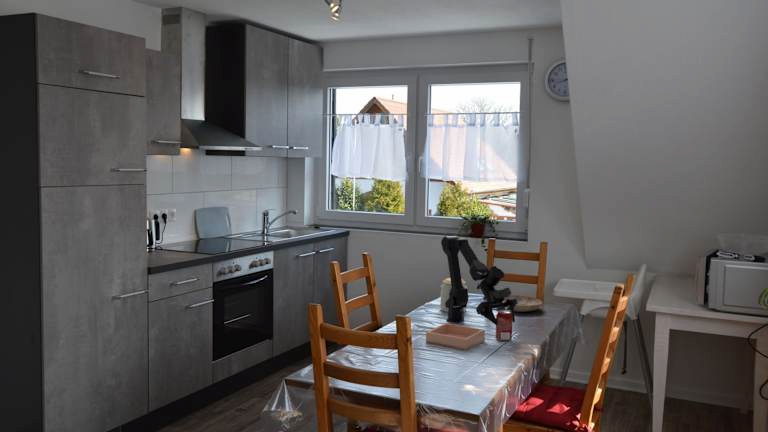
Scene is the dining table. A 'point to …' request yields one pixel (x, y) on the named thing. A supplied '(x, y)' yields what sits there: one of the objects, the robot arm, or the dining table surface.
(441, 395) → the dining table surface
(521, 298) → the ceramic bowl
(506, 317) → the soda can
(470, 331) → the terracotta tray
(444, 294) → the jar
